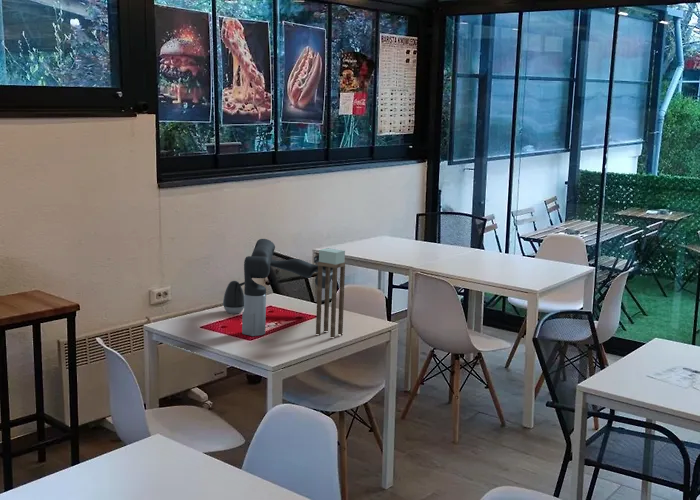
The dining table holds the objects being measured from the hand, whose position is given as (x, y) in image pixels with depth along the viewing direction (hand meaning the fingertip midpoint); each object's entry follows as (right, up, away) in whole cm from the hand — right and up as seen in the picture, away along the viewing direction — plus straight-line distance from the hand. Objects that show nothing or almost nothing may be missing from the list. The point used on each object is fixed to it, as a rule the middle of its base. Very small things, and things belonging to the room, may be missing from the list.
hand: (330, 253), depth 340 cm
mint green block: (+1, -3, -3) cm, 4 cm away
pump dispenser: (-46, -28, +30) cm, 61 cm away
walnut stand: (0, -35, -2) cm, 35 cm away
